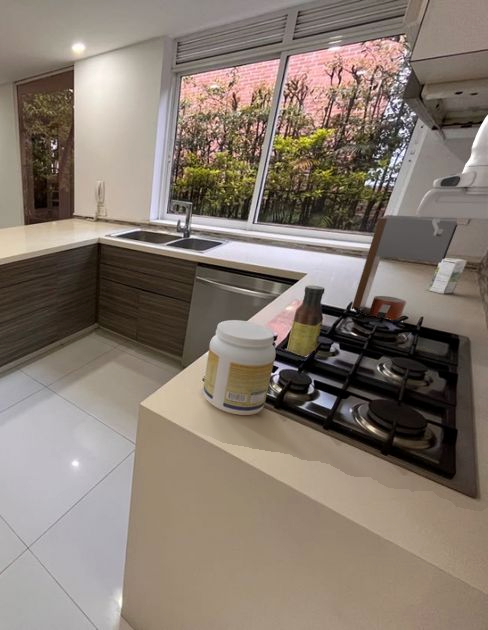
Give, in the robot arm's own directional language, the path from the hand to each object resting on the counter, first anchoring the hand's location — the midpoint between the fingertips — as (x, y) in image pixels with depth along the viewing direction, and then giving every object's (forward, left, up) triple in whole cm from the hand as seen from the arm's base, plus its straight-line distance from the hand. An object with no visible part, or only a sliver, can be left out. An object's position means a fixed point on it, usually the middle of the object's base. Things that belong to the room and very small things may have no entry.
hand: (463, 237), depth 86 cm
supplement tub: (+26, +65, -31) cm, 77 cm away
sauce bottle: (+22, +32, -31) cm, 50 cm away
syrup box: (-2, -82, -31) cm, 88 cm away
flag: (+10, -25, -31) cm, 41 cm away
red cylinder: (+11, -19, -31) cm, 38 cm away
